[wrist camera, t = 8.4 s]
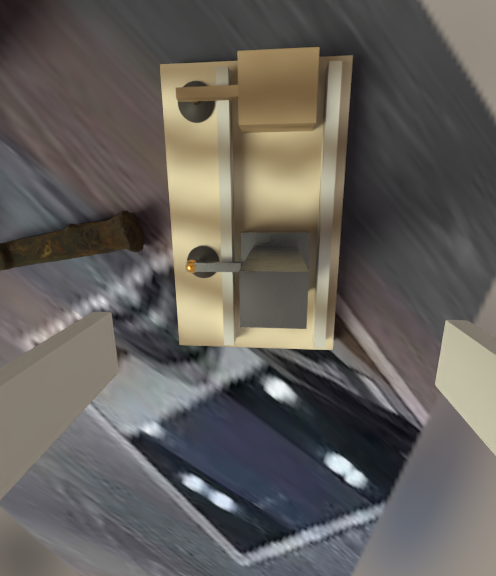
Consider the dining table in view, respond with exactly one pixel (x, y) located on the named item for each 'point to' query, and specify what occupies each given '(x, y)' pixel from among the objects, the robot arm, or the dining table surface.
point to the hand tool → (75, 242)
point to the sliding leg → (269, 278)
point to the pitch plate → (255, 182)
